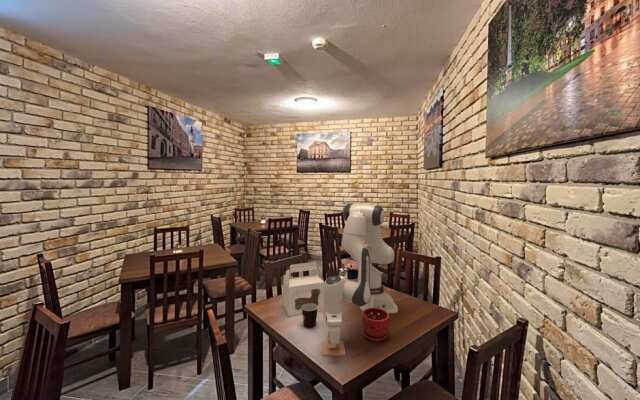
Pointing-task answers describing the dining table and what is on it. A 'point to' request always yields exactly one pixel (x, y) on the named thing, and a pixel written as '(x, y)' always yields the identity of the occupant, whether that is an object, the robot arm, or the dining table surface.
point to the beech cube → (331, 344)
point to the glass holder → (352, 275)
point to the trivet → (333, 349)
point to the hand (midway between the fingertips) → (333, 341)
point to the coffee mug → (309, 315)
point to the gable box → (303, 288)
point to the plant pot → (375, 324)
